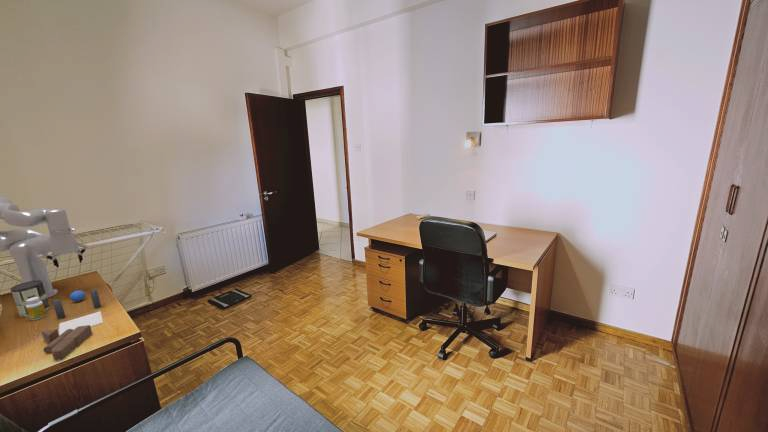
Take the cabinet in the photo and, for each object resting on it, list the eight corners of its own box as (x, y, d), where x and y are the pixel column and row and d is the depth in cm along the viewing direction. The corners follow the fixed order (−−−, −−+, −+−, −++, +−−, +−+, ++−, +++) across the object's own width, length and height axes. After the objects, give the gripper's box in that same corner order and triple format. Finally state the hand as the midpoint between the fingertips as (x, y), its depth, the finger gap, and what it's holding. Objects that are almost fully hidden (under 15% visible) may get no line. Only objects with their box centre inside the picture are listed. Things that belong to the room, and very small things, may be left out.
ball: (71, 301, 159) (68, 291, 158) (86, 297, 163) (83, 287, 162) (71, 304, 155) (68, 294, 154) (86, 300, 159) (83, 290, 158)
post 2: (94, 307, 153) (89, 290, 151) (101, 305, 155) (96, 288, 152) (94, 308, 151) (89, 292, 149) (101, 306, 153) (97, 290, 151)
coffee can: (39, 304, 156) (31, 279, 153) (56, 306, 154) (48, 280, 151) (13, 315, 146) (3, 289, 143) (29, 317, 144) (20, 290, 141)
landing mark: (59, 323, 139) (59, 323, 139) (100, 311, 148) (100, 311, 148) (59, 336, 129) (59, 336, 129) (103, 322, 139) (103, 322, 139)
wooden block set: (91, 321, 131) (59, 347, 114) (94, 332, 132) (63, 360, 115) (42, 327, 127) (2, 356, 110) (46, 339, 128) (7, 369, 111)
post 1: (57, 317, 144) (52, 300, 142) (65, 315, 146) (60, 298, 144) (57, 319, 142) (52, 302, 140) (65, 317, 144) (60, 300, 142)
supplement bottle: (35, 321, 141) (29, 302, 139) (26, 320, 142) (20, 301, 140) (49, 314, 147) (44, 296, 144) (41, 313, 148) (35, 295, 145)
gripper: (83, 227, 166) (91, 258, 170) (36, 235, 154) (45, 267, 158) (84, 230, 161) (92, 261, 165) (35, 238, 149) (45, 271, 153)
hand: (69, 264), depth 161 cm, fingers open, 8 cm apart
